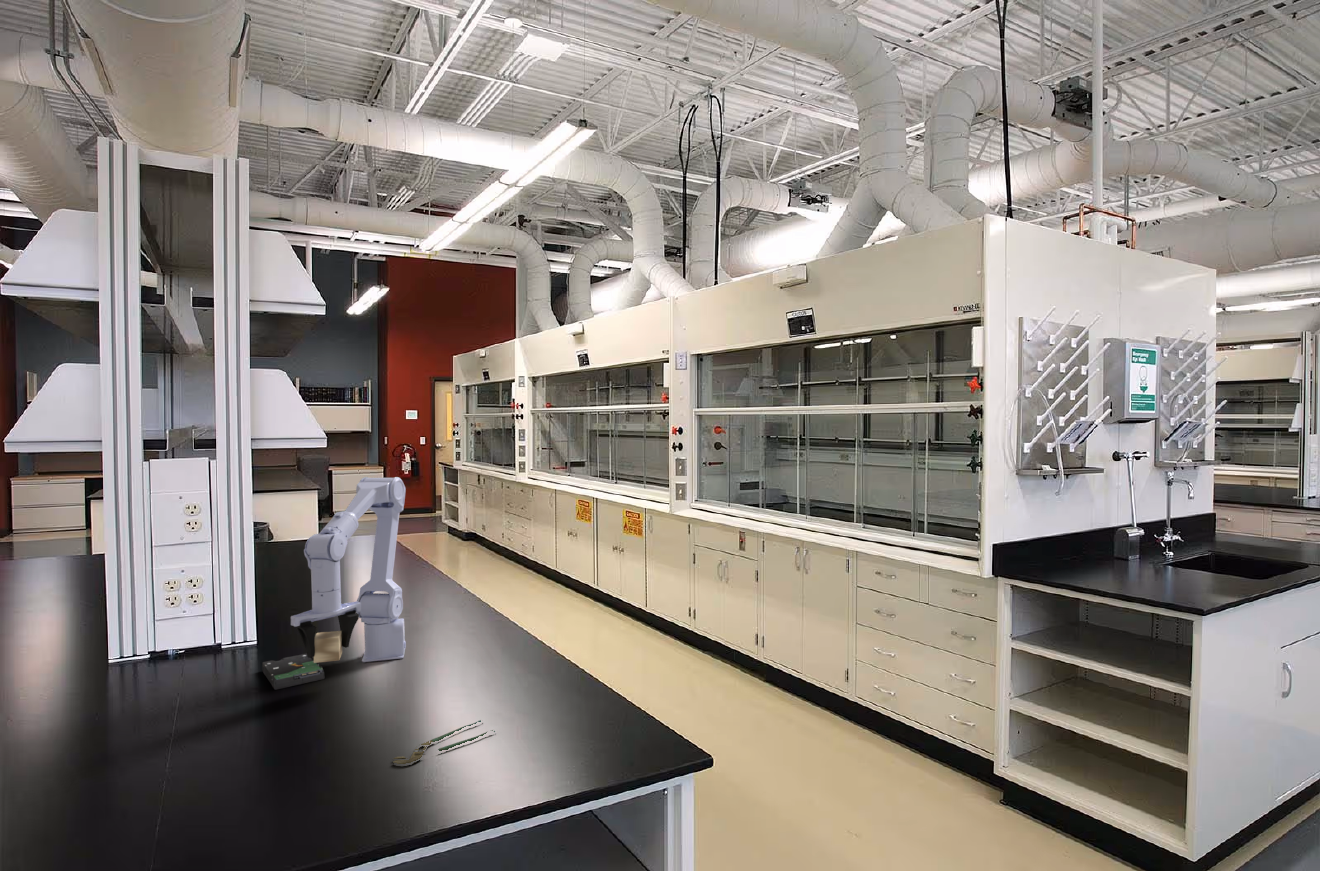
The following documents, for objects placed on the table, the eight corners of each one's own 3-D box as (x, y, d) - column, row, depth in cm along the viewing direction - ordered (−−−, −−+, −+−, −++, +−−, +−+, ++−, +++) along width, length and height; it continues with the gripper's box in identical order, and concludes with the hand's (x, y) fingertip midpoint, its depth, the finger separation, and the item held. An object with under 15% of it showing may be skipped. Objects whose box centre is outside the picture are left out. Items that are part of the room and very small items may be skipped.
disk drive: (261, 674, 168) (275, 692, 156) (260, 662, 168) (274, 679, 156) (309, 663, 174) (325, 680, 163) (308, 652, 174) (325, 668, 163)
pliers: (482, 725, 139) (481, 718, 139) (501, 734, 134) (500, 727, 134) (383, 760, 125) (383, 753, 125) (401, 772, 120) (401, 765, 120)
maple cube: (342, 652, 159) (341, 630, 159) (339, 660, 155) (338, 637, 155) (317, 655, 158) (316, 632, 158) (313, 662, 153) (313, 639, 153)
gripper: (349, 580, 164) (350, 638, 164) (283, 593, 153) (285, 656, 153) (365, 584, 160) (367, 644, 160) (298, 598, 148) (300, 663, 149)
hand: (328, 651), depth 156 cm, fingers closed on maple cube, 7 cm apart
